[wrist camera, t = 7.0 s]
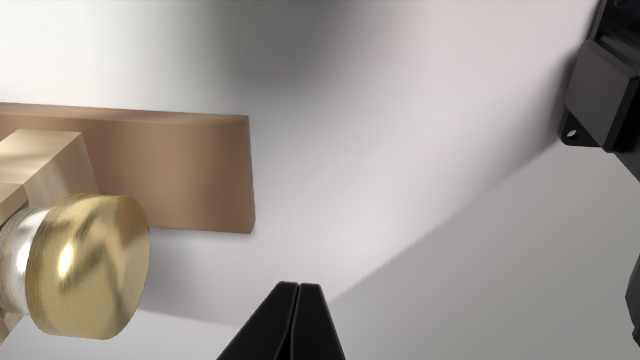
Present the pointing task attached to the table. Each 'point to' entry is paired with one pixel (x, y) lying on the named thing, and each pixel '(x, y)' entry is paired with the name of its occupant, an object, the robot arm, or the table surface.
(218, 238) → the table surface
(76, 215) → the shaft
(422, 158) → the table surface
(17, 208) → the bearing stand
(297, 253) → the table surface
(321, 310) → the robot arm
